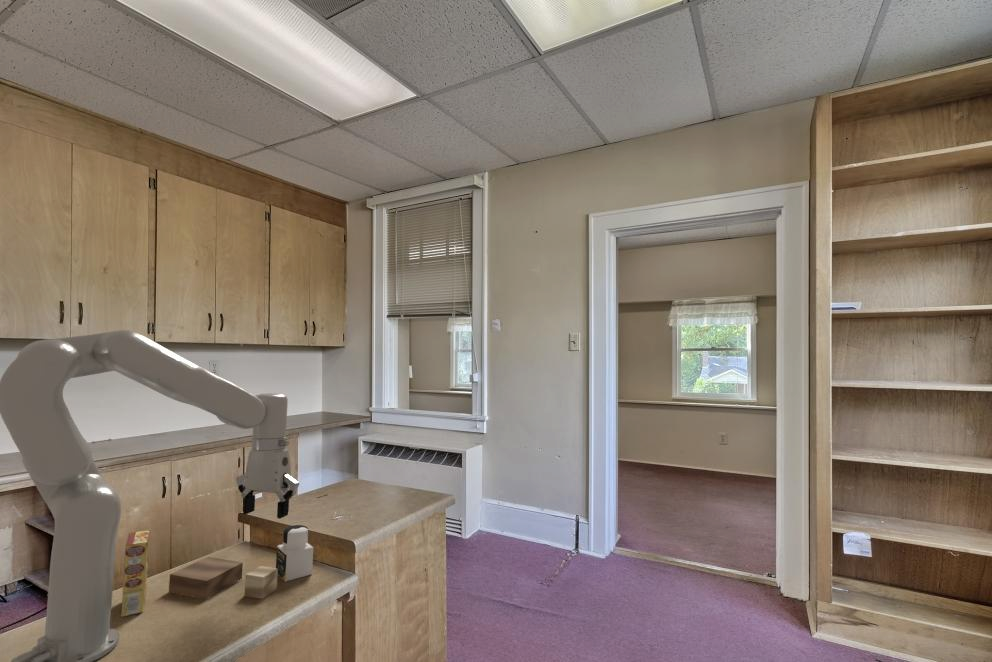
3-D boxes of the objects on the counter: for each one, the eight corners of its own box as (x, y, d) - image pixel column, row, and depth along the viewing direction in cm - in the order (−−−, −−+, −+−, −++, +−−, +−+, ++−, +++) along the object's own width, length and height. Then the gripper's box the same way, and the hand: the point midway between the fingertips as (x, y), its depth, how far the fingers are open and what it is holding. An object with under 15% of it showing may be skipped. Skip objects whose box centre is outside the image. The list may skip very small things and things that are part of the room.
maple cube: (262, 599, 114) (263, 577, 114) (244, 595, 115) (245, 574, 116) (276, 589, 119) (277, 568, 119) (259, 586, 120) (260, 565, 120)
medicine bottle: (275, 572, 128) (277, 526, 129) (302, 565, 133) (304, 521, 133) (284, 582, 123) (287, 534, 123) (312, 574, 127) (314, 528, 128)
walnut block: (205, 600, 113) (206, 581, 113) (168, 593, 116) (169, 574, 116) (241, 580, 124) (242, 562, 124) (206, 574, 127) (208, 556, 127)
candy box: (143, 612, 106) (148, 541, 107) (119, 618, 104) (124, 545, 105) (146, 596, 114) (150, 529, 115) (123, 600, 111) (128, 532, 112)
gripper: (309, 443, 121) (305, 513, 120) (250, 439, 125) (247, 506, 124) (289, 449, 114) (285, 523, 113) (227, 444, 118) (223, 515, 117)
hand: (265, 514), depth 118 cm, fingers open, 9 cm apart
